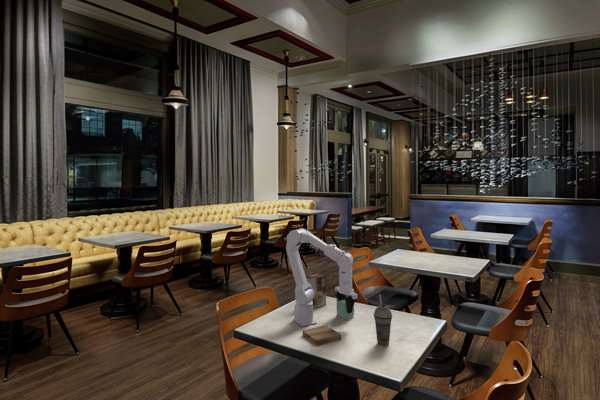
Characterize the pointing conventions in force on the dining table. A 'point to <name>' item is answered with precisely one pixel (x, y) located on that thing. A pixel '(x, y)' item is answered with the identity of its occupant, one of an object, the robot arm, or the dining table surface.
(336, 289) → the robot arm
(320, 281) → the coffee box
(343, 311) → the teal block
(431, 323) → the dining table surface
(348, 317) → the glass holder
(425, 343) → the dining table surface
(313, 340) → the walnut base
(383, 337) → the beverage cup
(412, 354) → the dining table surface
